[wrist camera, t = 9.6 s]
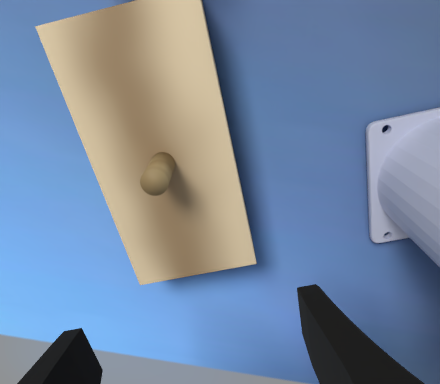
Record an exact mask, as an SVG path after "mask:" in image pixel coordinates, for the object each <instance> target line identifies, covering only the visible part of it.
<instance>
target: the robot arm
mask: <svg viewBox="0 0 440 384" xmlns="http://www.w3.org/2000/svg"><path fill="white" fill-rule="evenodd" d="M385 125H388V130H387V131H386V132H384V133H382V128H383V127H384V126H385ZM366 153H367V181H368V208H369V236H370V238H371V240H372V241H373V242H375V243H383V242H388V241H394V240H399V239H405V238H411V239H412V240H413V241H414V242H415V243H416V244H417V245H418V246H419V247H420V248H421V249H422V250H423V251H424V252H425V253H426V254H427V255H428V256H429V257H430V258H431V259H432V260H433V261H434V262H435V263H436V264H437V265H438V266H439V267H440V108H435V109H430V110H426V111H421V112H416V113H412V114H407V115H402V116H398V117H393V118H388V119H383V120H379V121H374V122H372V123H370V124H369V125H368V126H367V128H366ZM387 232H389V233H388V234H387V235H386V236H384V234H385V233H387ZM297 292H298V301H299V309H300V318H301V326H302V334H303V337H304V340H305V344H306V347H307V350H308V353H309V357H310V360H311V363H312V366H313V368H314V371H315V373H316V376H317V378H318V380H319V383H320V384H424V383H423V382H422V381H420V380H419V379H418V378H417V377H415V376H414V375H413V374H411V373H410V372H409V371H407V370H406V369H405V368H404V367H402V366H401V365H400V364H399V363H398V362H396V361H395V360H394V359H393V358H391V357H390V356H389V355H388V354H387V353H386V352H384V351H383V350H382V349H381V348H380V347H379V346H378V345H376V344H375V343H374V342H373V341H372V340H371V339H370V338H369V337H368V336H366V335H365V334H364V333H363V332H362V331H361V330H360V329H359V328H358V327H357V326H356V325H355V324H354V323H353V322H352V321H351V320H350V319H349V318H348V317H347V316H346V315H345V314H344V313H343V312H342V311H341V310H340V309H339V308H338V307H337V306H336V305H335V304H334V303H333V302H332V301H331V300H330V299H329V297H328V296H327V295H326V294H325V293H324V292H323V291H322V289H321V288H320V287H319V286H317V285H316V284H315V285H309V286H304V287H299V288H297ZM101 377H102V368H101V366H100V364H99V362H98V360H97V358H96V356H95V354H94V352H93V350H92V348H91V346H90V344H89V342H88V340H87V338H86V336H85V334H84V332H83V330H82V328H80V329H74V330H69V331H64V332H63V333H62V334H61V335H60V336H59V337H58V338H57V339H56V340H55V342H54V343H53V344H52V345H51V346H50V347H49V348H48V349H47V351H46V352H45V353H44V354H43V355H42V356H41V357H40V359H39V360H38V361H37V362H36V363H35V364H34V365H33V367H32V368H31V369H30V370H29V371H28V372H27V373H26V374H25V376H24V377H23V378H22V379H21V380H20V381H19V382H18V383H17V384H100V383H101Z"/></svg>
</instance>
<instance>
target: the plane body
mask: <svg viewBox="0 0 440 384" xmlns="http://www.w3.org/2000/svg"><path fill="white" fill-rule="evenodd" d="M36 29H37V32H38V34H39V37H40V39H41V42H42V44H43V47H44V49H45V52H46V54H47V57H48V59H49V62H50V64H51V66H52V69H53V71H54V74H55V76H56V79H57V81H58V84H59V86H60V89H61V91H62V94H63V96H64V99H65V101H66V103H67V106H68V108H69V111H70V113H71V116H72V118H73V121H74V123H75V126H76V128H77V131H78V133H79V135H80V138H81V140H82V143H83V145H84V148H85V150H86V153H87V155H88V158H89V160H90V163H91V165H92V168H93V170H94V172H95V175H96V177H97V180H98V182H99V185H100V187H101V190H102V192H103V195H104V197H105V200H106V202H107V205H108V207H109V209H110V212H111V214H112V217H113V219H114V222H115V224H116V227H117V229H118V232H119V234H120V237H121V239H122V242H123V244H124V246H125V249H126V251H127V254H128V256H129V259H130V261H131V264H132V266H133V269H134V271H135V274H136V276H137V279H138V281H139V283H140V285H143V284H149V283H154V282H160V281H165V280H171V279H176V278H181V277H187V276H192V275H198V274H203V273H209V272H214V271H220V270H225V269H231V268H236V267H242V266H247V265H253V264H257V263H256V258H255V252H254V246H253V241H252V235H251V230H250V226H249V221H248V216H247V211H246V207H245V202H244V197H243V192H242V188H241V183H240V178H239V174H238V169H237V164H236V159H235V155H234V150H233V145H232V140H231V136H230V131H229V126H228V121H227V117H226V112H225V107H224V102H223V98H222V93H221V88H220V83H219V79H218V74H217V69H216V64H215V60H214V55H213V50H212V46H211V41H210V36H209V31H208V27H207V22H206V17H205V12H204V8H203V3H202V0H136V1H132V2H128V3H124V4H120V5H116V6H113V7H109V8H105V9H101V10H97V11H93V12H89V13H86V14H82V15H78V16H74V17H70V18H66V19H62V20H59V21H55V22H51V23H47V24H43V25H39V26H36Z"/></svg>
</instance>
